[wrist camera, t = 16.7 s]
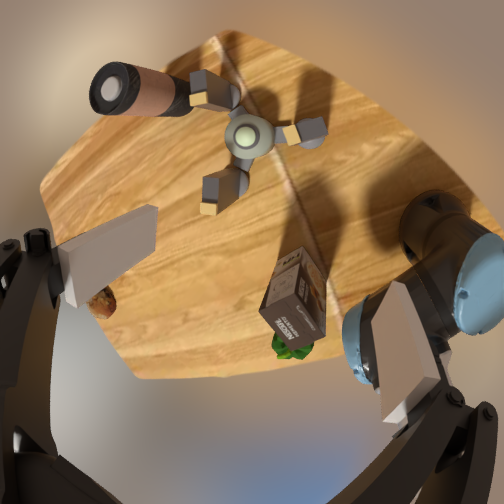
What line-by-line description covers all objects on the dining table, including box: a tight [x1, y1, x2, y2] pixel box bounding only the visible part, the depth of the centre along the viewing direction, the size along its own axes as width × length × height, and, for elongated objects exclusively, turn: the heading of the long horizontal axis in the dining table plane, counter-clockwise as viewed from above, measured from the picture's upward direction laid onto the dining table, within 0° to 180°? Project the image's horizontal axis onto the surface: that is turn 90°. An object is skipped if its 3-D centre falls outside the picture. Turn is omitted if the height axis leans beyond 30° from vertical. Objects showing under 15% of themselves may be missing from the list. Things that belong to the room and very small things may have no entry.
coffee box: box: [258, 246, 326, 351], centre depth 44 cm, size 9×6×16 cm
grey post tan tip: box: [189, 69, 241, 112], centre depth 36 cm, size 5×5×12 cm
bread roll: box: [86, 288, 116, 319], centre depth 68 cm, size 10×10×8 cm
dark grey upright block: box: [282, 116, 328, 149], centre depth 35 cm, size 5×5×12 cm
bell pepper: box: [271, 332, 314, 360], centre depth 52 cm, size 8×8×10 cm
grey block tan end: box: [200, 168, 249, 216], centre depth 42 cm, size 5×5×12 cm
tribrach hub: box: [225, 105, 288, 172], centre depth 40 cm, size 12×11×7 cm
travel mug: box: [89, 62, 194, 117], centre depth 34 cm, size 8×8×20 cm
